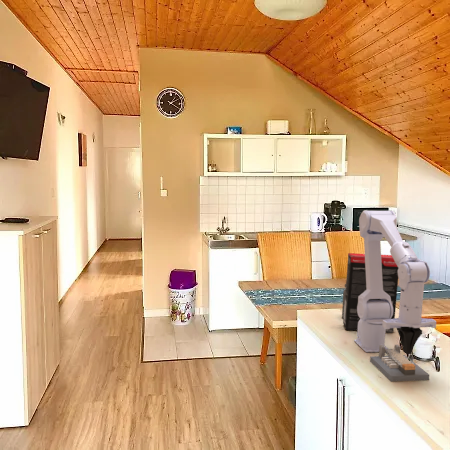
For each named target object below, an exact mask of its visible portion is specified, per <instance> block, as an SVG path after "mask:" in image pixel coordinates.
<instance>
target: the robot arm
mask: <svg viewBox="0 0 450 450" xmlns="http://www.w3.org/2000/svg"><path fill="white" fill-rule="evenodd" d="M397 223H398V218H397V215H396V213H395V211H393V210H368V209H366V210H363V211H362V212H361V214H360V216H359V219H358V224H359V227H358V228H359V233H360V234H359V235H360V236H359V237H360V238H363V245H364V246H363V247H364V254H365V268H366V288H367V289H366V291H364V292H363V293H362V294H361V295H360V296H359V297H358V305H357V313H358V316H359V317H360V320H359V322H358V330H356V331H357V334H356V339H354V340H353V342H354V343H356V345H358V346H359V347H360V348H361V349H362V350H363V351H364V352H365V353H379V347H380V345H383V346H384V347H385V349H389V348H388V347H387V346H386V345H385V343H386V329H389V328H394V329H396V330H397V333H398V336H399V338H400V341H401V345H402V351H403V353H404V354H406V355H411V354H412V353H413V350H414V347H415V345H416V343H417V341H418V340H419V338H420V337H421V336H422V335H423V329H421V328H432V329H436V328H437V321H436V320H435V319H434V318H424V317H423V316H422V313H423V303H424V302H423V301H424V291H425V289H424V288H425V284H426V283H427V282H428V281H429V279H430V275H431V271H430V266H429V265H428V262H426V261H425V260H422V259H421V258H418V256H417V254H416V252H415V251H414V249H413V248H412V246H411V244H410V243H409V242H407V241H403V238H402V236H401V233H400V232H399V230H398V228H397ZM383 238H384V239H385V240H386V242H388V244H389V246H390V250H389V253H390V255H392V257H393V259H394V261H395V263H396V264H397V266H398V268H399V269H398V285H399V286H398V287H399V288H400V296H399V308H398V317H395V318H394V319H391V318H392V316H393V306H392V303H391V297H390V296H389V295H388V294H387V293H386V292H384V291H383V281H382V263H381V255H382V253H381V252H382V246H381V241H382V240H383ZM369 299H381V300H369Z"/></svg>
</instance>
